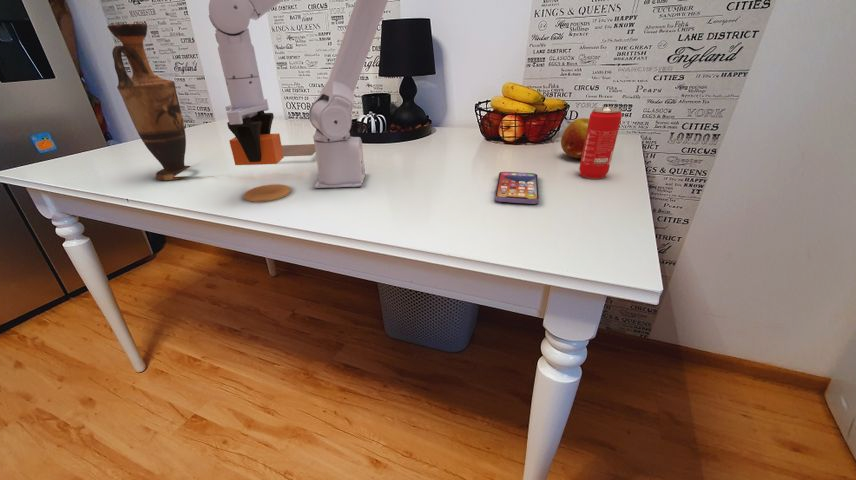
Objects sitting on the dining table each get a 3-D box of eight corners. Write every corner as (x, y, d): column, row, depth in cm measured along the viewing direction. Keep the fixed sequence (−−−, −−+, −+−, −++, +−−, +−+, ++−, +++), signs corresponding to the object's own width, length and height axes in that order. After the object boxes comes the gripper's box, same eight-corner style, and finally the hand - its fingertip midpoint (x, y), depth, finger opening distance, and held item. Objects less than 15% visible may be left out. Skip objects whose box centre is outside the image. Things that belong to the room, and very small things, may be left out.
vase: (188, 166, 100) (144, 25, 85) (209, 173, 94) (165, 22, 78) (143, 177, 94) (86, 26, 78) (163, 185, 87) (104, 23, 72)
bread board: (322, 149, 108) (322, 143, 108) (313, 161, 98) (312, 155, 97) (265, 151, 110) (264, 146, 109) (250, 163, 99) (248, 157, 99)
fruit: (604, 164, 84) (613, 124, 80) (557, 162, 87) (564, 123, 82) (601, 152, 91) (609, 115, 87) (558, 151, 94) (564, 115, 90)
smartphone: (537, 177, 79) (538, 205, 66) (498, 175, 80) (493, 202, 68) (537, 173, 78) (539, 200, 66) (499, 171, 80) (494, 197, 68)
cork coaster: (295, 185, 82) (295, 183, 82) (283, 201, 75) (283, 199, 75) (253, 187, 83) (253, 185, 83) (237, 202, 76) (236, 200, 75)
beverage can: (578, 178, 77) (591, 112, 71) (578, 170, 81) (590, 107, 75) (607, 180, 75) (624, 112, 69) (606, 172, 79) (622, 107, 73)
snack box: (283, 157, 77) (279, 133, 75) (277, 163, 73) (272, 138, 71) (244, 159, 78) (238, 135, 76) (235, 165, 74) (228, 140, 72)
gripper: (236, 74, 75) (252, 148, 82) (200, 83, 62) (223, 169, 70) (272, 72, 74) (286, 147, 81) (244, 80, 62) (263, 168, 69)
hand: (259, 157), depth 75 cm, fingers closed on snack box, 4 cm apart
